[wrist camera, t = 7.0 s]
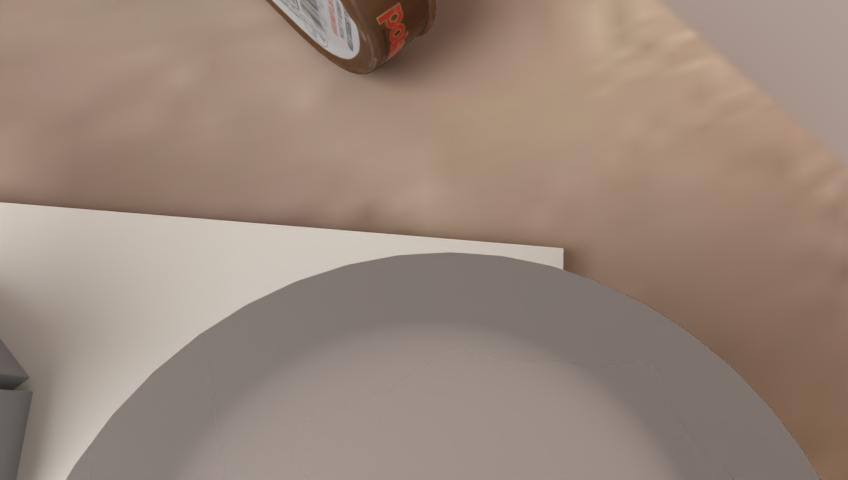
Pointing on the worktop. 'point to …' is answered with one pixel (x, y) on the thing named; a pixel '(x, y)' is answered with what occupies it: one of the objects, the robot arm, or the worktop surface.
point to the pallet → (141, 307)
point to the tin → (358, 28)
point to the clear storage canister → (444, 387)
